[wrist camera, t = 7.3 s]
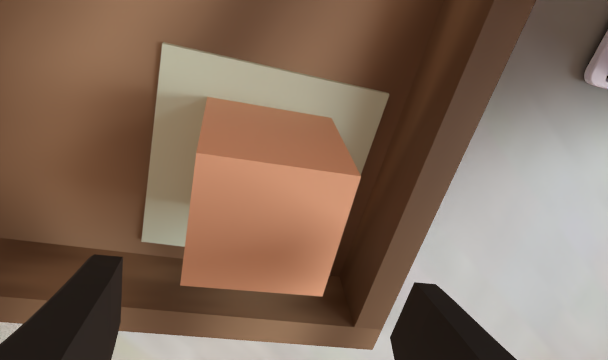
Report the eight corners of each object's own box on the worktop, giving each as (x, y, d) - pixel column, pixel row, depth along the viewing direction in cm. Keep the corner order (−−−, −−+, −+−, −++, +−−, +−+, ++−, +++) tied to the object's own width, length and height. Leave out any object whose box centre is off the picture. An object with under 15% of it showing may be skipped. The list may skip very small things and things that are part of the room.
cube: (331, 117, 16) (361, 176, 12) (304, 218, 18) (322, 296, 14) (207, 96, 15) (196, 152, 11) (193, 205, 17) (180, 285, 13)
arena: (493, -73, 15) (571, -76, 11) (351, 284, 22) (372, 349, 18) (-53, -261, 11) (-186, -352, 7) (-8, 243, 18) (-67, 316, 15)
